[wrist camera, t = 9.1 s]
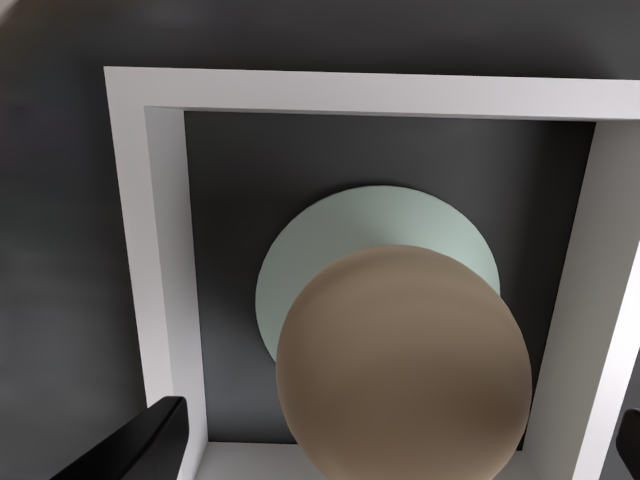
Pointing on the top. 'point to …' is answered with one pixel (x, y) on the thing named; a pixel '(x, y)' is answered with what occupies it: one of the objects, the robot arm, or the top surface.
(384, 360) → the wooden ball
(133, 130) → the white square frame
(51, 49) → the top surface
